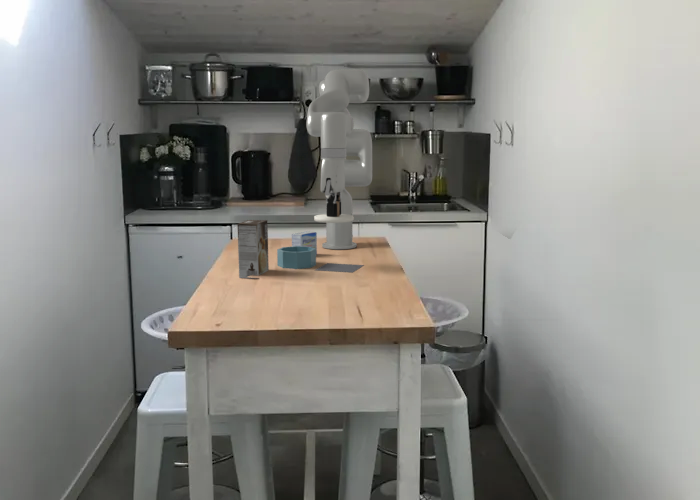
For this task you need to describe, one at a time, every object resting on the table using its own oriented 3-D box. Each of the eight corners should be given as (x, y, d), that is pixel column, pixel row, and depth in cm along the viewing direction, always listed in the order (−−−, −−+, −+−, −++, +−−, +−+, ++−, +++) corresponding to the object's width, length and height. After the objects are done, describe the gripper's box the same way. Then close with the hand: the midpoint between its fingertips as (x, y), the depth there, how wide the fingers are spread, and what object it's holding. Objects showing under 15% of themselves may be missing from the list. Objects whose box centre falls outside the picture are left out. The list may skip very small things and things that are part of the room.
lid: (321, 217, 225) (321, 199, 224) (358, 218, 222) (358, 200, 221) (308, 222, 214) (308, 203, 213) (347, 223, 211) (347, 204, 210)
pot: (287, 264, 231) (286, 245, 230) (319, 266, 228) (319, 247, 227) (273, 270, 221) (272, 251, 220) (307, 272, 217) (306, 253, 216)
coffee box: (249, 272, 219) (247, 219, 216) (269, 272, 217) (268, 219, 215) (238, 278, 210) (236, 223, 207) (259, 279, 208) (258, 224, 206)
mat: (327, 266, 227) (327, 263, 227) (364, 268, 224) (364, 265, 224) (314, 273, 216) (314, 270, 216) (352, 275, 213) (352, 272, 212)
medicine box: (301, 260, 237) (301, 234, 236) (291, 259, 240) (291, 233, 238) (317, 257, 243) (317, 231, 242) (307, 256, 246) (306, 230, 244)
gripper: (330, 153, 224) (330, 212, 227) (312, 155, 208) (313, 218, 211) (353, 153, 221) (353, 213, 225) (337, 155, 206) (337, 219, 209)
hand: (333, 215), depth 218 cm, fingers closed on lid, 3 cm apart
